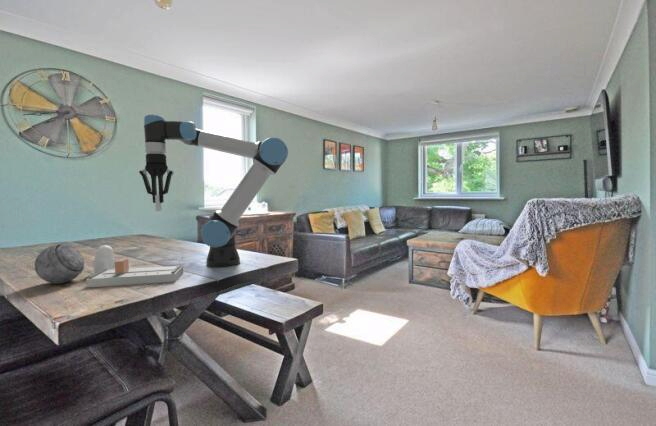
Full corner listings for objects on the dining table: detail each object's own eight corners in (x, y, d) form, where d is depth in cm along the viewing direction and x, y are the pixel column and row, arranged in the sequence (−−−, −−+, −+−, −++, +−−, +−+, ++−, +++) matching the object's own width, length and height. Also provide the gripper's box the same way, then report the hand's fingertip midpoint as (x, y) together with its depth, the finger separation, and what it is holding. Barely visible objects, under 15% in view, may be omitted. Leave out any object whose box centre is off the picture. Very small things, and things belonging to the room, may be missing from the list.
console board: (183, 272, 140) (183, 264, 139) (175, 281, 126) (175, 271, 126) (103, 277, 133) (103, 268, 133) (86, 287, 120) (86, 277, 119)
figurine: (104, 275, 136) (103, 247, 135) (89, 275, 138) (87, 246, 137) (118, 271, 143) (117, 244, 142) (104, 271, 145) (102, 243, 144)
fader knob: (128, 270, 131) (128, 258, 131) (124, 273, 126) (123, 260, 126) (120, 270, 130) (119, 258, 130) (115, 273, 126) (114, 261, 125)
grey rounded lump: (70, 287, 121) (67, 246, 119) (25, 289, 118) (22, 248, 117) (92, 276, 135) (90, 240, 134) (52, 278, 133) (50, 241, 132)
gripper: (175, 155, 141) (177, 209, 143) (141, 154, 139) (144, 210, 140) (170, 153, 134) (173, 210, 136) (135, 152, 131) (138, 211, 133)
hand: (158, 210), depth 138 cm, fingers closed
